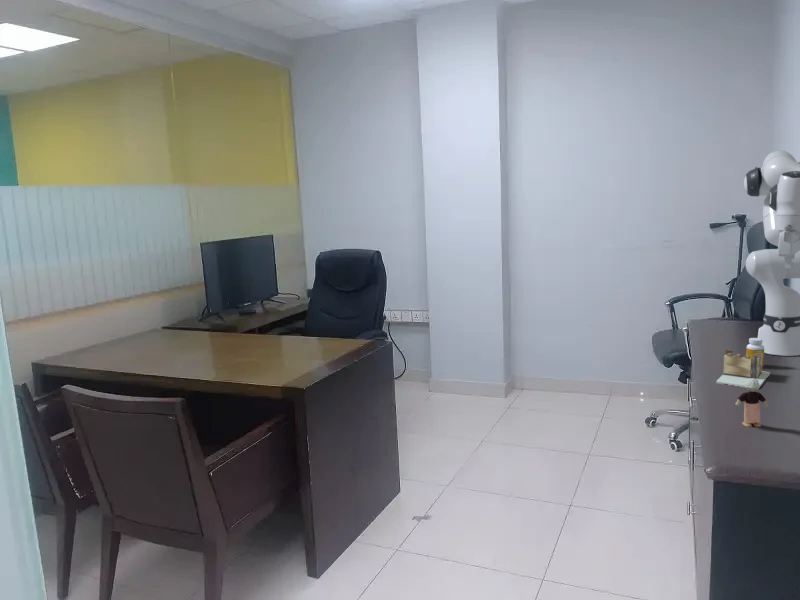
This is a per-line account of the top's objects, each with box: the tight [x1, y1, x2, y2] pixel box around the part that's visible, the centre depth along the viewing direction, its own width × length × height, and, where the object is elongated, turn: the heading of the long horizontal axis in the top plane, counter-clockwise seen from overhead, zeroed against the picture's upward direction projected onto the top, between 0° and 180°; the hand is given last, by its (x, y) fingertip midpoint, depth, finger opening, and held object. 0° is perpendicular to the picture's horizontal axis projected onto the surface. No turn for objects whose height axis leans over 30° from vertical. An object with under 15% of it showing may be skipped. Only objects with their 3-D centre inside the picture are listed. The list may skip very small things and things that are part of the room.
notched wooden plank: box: [723, 353, 752, 377], centre depth 200 cm, size 8×2×7 cm, turn 46°
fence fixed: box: [752, 351, 763, 379], centre depth 200 cm, size 10×2×7 cm, turn 140°
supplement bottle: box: [745, 337, 765, 368], centre depth 212 cm, size 5×5×10 cm
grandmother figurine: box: [734, 378, 769, 428], centre depth 159 cm, size 8×4×13 cm, turn 92°
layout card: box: [715, 370, 771, 390], centre depth 199 cm, size 20×12×1 cm, turn 140°
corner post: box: [724, 348, 733, 356], centre depth 203 cm, size 2×2×8 cm
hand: (788, 267), depth 193 cm, fingers closed
